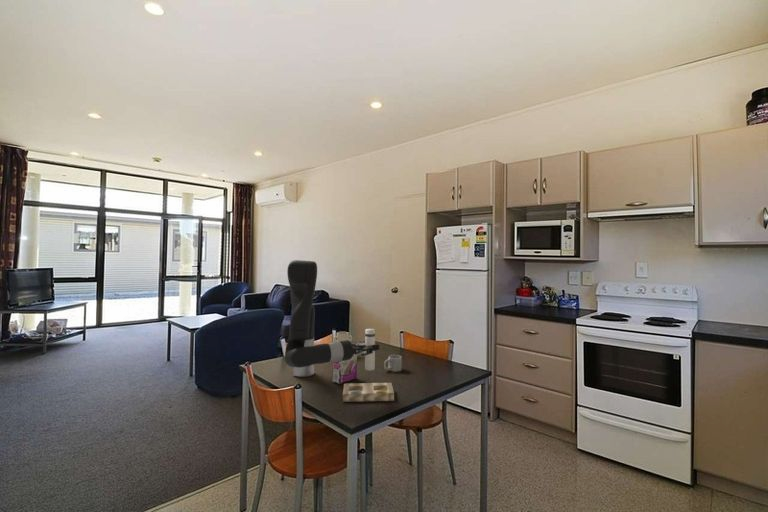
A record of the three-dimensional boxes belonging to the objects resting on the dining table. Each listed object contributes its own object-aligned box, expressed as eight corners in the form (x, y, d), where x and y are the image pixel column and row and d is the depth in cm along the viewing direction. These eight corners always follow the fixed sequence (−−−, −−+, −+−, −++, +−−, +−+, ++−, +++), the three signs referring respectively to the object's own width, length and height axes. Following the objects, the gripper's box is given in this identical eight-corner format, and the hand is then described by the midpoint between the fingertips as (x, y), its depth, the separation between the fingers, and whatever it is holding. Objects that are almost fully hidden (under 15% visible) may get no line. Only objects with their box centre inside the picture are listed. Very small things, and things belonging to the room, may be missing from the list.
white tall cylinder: (364, 370, 146) (365, 330, 146) (364, 367, 150) (365, 328, 150) (374, 370, 146) (375, 330, 146) (374, 367, 150) (375, 328, 150)
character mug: (350, 353, 214) (350, 331, 214) (353, 356, 208) (353, 333, 208) (332, 354, 211) (332, 332, 211) (334, 357, 204) (334, 334, 204)
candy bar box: (340, 384, 161) (340, 347, 161) (332, 382, 164) (332, 345, 164) (357, 378, 169) (357, 343, 169) (349, 376, 172) (350, 341, 173)
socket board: (342, 401, 142) (342, 393, 142) (344, 390, 154) (344, 382, 154) (394, 400, 143) (394, 392, 143) (391, 389, 155) (391, 381, 155)
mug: (396, 366, 188) (396, 354, 188) (404, 370, 182) (404, 356, 182) (380, 370, 182) (380, 357, 182) (388, 373, 176) (388, 360, 177)
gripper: (346, 345, 135) (385, 340, 144) (330, 338, 146) (367, 333, 156) (346, 365, 134) (385, 359, 144) (330, 356, 146) (367, 351, 156)
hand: (375, 345), depth 150 cm, fingers closed on white tall cylinder, 4 cm apart
